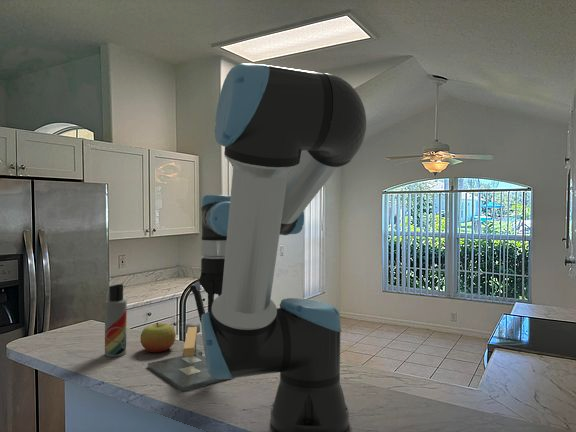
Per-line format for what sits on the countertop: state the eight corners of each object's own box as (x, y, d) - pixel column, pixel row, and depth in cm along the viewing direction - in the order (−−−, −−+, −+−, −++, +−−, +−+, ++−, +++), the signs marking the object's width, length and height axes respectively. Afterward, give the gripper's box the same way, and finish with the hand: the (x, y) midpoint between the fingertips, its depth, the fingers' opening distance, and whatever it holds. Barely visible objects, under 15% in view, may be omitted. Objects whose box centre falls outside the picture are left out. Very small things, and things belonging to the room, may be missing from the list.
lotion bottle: (118, 358, 117) (119, 286, 117) (100, 356, 118) (101, 285, 118) (130, 351, 122) (130, 283, 122) (112, 350, 123) (113, 282, 123)
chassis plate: (234, 377, 103) (234, 372, 103) (182, 391, 94) (182, 386, 94) (195, 356, 119) (196, 351, 119) (147, 367, 110) (147, 362, 110)
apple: (153, 343, 130) (153, 317, 130) (181, 346, 127) (181, 320, 127) (133, 353, 121) (133, 325, 121) (163, 356, 118) (163, 328, 118)
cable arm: (186, 330, 122) (186, 322, 122) (200, 329, 123) (200, 322, 123) (180, 357, 99) (180, 347, 99) (197, 356, 99) (197, 346, 99)
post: (202, 354, 120) (202, 333, 120) (189, 357, 117) (189, 335, 117) (195, 351, 123) (195, 330, 123) (183, 353, 120) (183, 332, 120)
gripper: (243, 255, 109) (242, 346, 109) (192, 255, 108) (191, 346, 108) (242, 258, 101) (241, 355, 101) (187, 258, 100) (186, 356, 100)
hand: (215, 351), depth 105 cm, fingers closed
